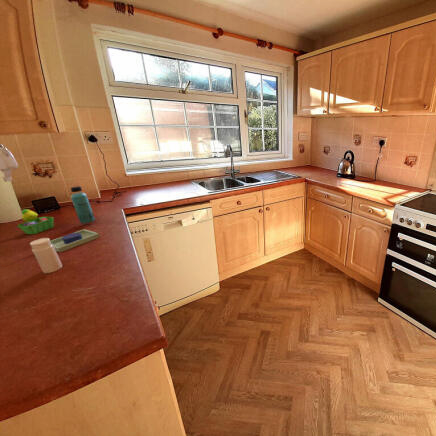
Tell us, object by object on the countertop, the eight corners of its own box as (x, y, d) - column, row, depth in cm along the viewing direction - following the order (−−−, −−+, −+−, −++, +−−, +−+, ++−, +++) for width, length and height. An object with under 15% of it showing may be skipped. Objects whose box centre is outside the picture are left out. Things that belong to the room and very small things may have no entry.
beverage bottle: (78, 225, 127) (63, 188, 120) (91, 220, 133) (78, 185, 125) (86, 226, 125) (71, 189, 117) (99, 222, 131) (86, 185, 123)
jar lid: (85, 237, 112) (83, 232, 111) (75, 243, 106) (73, 238, 105) (71, 238, 111) (69, 233, 110) (60, 244, 106) (58, 239, 105)
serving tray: (59, 252, 100) (57, 248, 99) (45, 247, 105) (43, 242, 104) (99, 237, 113) (98, 233, 112) (85, 232, 118) (84, 229, 117)
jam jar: (47, 274, 85) (32, 246, 81) (39, 271, 88) (25, 243, 83) (65, 266, 90) (53, 239, 86) (58, 263, 92) (45, 236, 88)
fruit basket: (32, 235, 117) (22, 214, 112) (18, 234, 118) (7, 213, 114) (58, 226, 127) (49, 205, 123) (45, 225, 129) (35, 205, 124)
